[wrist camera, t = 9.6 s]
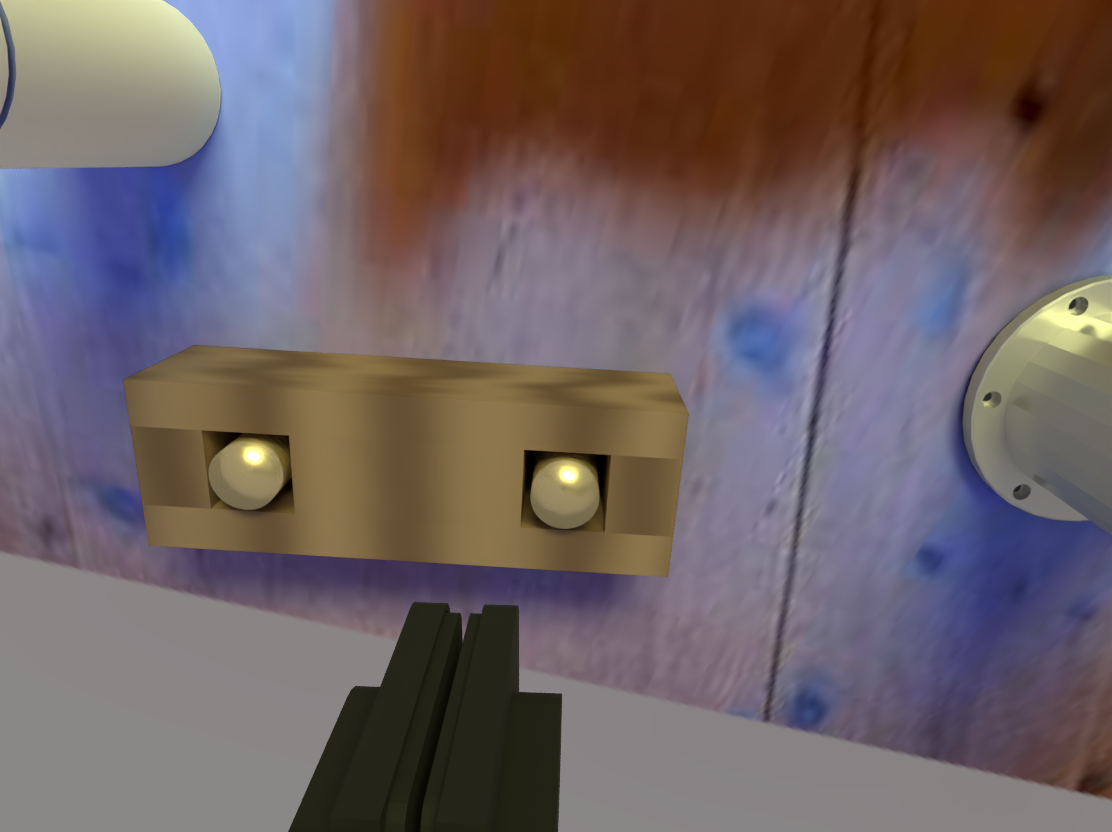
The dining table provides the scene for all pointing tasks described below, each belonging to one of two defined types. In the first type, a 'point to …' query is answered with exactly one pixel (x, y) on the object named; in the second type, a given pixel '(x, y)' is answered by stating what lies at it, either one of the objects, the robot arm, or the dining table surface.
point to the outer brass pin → (251, 470)
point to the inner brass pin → (564, 488)
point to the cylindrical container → (103, 84)
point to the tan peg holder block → (409, 457)
